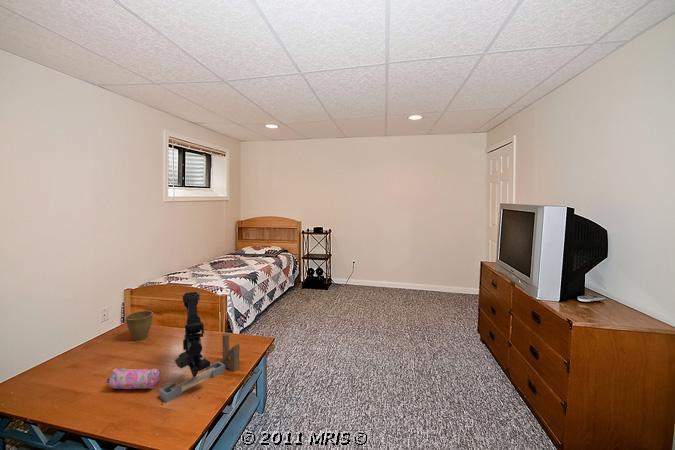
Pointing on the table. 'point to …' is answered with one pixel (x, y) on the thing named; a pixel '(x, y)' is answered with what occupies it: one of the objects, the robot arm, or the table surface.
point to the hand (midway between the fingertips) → (194, 376)
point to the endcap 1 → (169, 392)
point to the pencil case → (134, 378)
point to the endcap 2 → (217, 368)
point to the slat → (194, 380)
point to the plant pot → (139, 324)
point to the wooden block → (230, 354)
